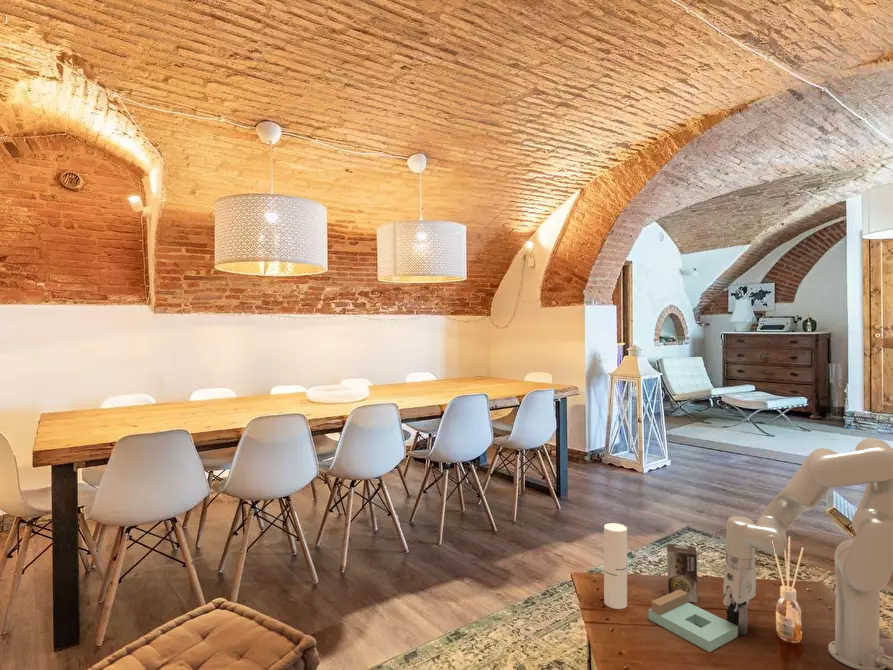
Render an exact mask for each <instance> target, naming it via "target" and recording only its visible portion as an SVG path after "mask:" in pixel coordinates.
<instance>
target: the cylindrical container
mask: <svg viewBox="0 0 893 670" xmlns="http://www.w3.org/2000/svg"><path fill="white" fill-rule="evenodd" d="M603 603H604V604H605V605H606V606H607V607H609V608H610V609H614V610H615V609H616V610H623V609H625V608H627V606H628V527H627V526H625V525H624V524H621V523H614V522H612V523H611V522H610V523H609V522H608V523H606V524H604V526H603Z"/></svg>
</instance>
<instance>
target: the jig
mask: <svg viewBox="0 0 893 670" xmlns="http://www.w3.org/2000/svg"><path fill="white" fill-rule="evenodd" d="M650 604H651V607H650V608H649V609H648V620H649V621H651V622H653V623H654V624H656V625H659V626H660V627H662V628H664V629H666V630H668V631H670V632H671V633H673V634H675V635H677V636H679V637H680V638H682V639H684V640H687V641H688V642H689V643H692V644H693V645H695V646H697V647H699V648H701V649H702V650H704V651H706V652H708V653H711V652H713V651H715V650H716V649H717V648H720V647H722V646H723V645H726V644H727V643H729V642H731V641H733V640H734V639H736V638H737V637H739V634H738V626H736V625H734V624H732V623H731V622H729V621H727V619H723V618H721V617H720V616H717V615H716V614H714V613H711V612H709V611H707V610H705V609H702V608H701V607H699V606H697V605H694V604H692V603H691V602H689V601H688V593H687V592H685V591H683V590H680V589H679V590H676V591H674V592H672V593H670V594H668V593H667V594H665V595H663V596H660V597H659V598H655V599H654V600H651V603H650Z"/></svg>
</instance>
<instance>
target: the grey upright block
mask: <svg viewBox="0 0 893 670" xmlns="http://www.w3.org/2000/svg"><path fill="white" fill-rule="evenodd" d="M731 603H732V604H733V605H735V603H734V602H732V601H731ZM738 612H739V624H738V625H736V626H738V636H739V635H741V636H745V635H747V634H748V615H747V604H745V603H741V604H739V605H738ZM732 624H733V623H732ZM734 625H735V624H734Z"/></svg>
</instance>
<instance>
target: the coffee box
mask: <svg viewBox="0 0 893 670" xmlns="http://www.w3.org/2000/svg"><path fill="white" fill-rule="evenodd" d="M666 552H667V553H666V558H667V560H666V564H667V577H666V578H667V594H670V593H672V592H674V591H676V590H679V589H680V590H683V591H685V592H687V593H688V603H698V557H697V555H698V554H697V548H696V547H695V546H688V545H679V544H672V543H667V545H666Z"/></svg>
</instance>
